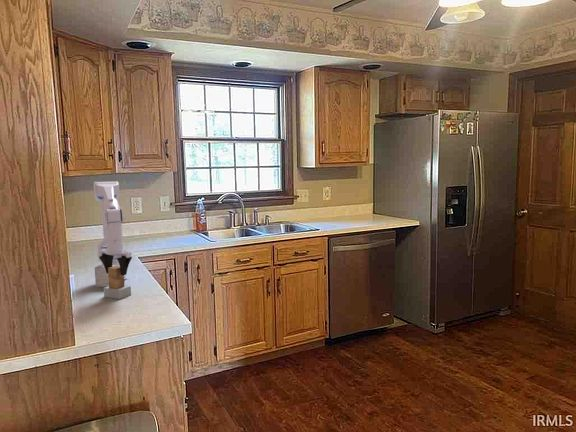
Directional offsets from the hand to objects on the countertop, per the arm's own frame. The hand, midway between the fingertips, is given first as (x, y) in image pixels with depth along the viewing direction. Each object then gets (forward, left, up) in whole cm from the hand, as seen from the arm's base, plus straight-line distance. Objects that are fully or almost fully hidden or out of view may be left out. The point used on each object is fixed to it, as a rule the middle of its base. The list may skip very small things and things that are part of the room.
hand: (116, 273), depth 170 cm
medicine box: (-9, -15, -9) cm, 19 cm away
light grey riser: (0, 0, -9) cm, 9 cm away
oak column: (0, 0, -5) cm, 5 cm away
